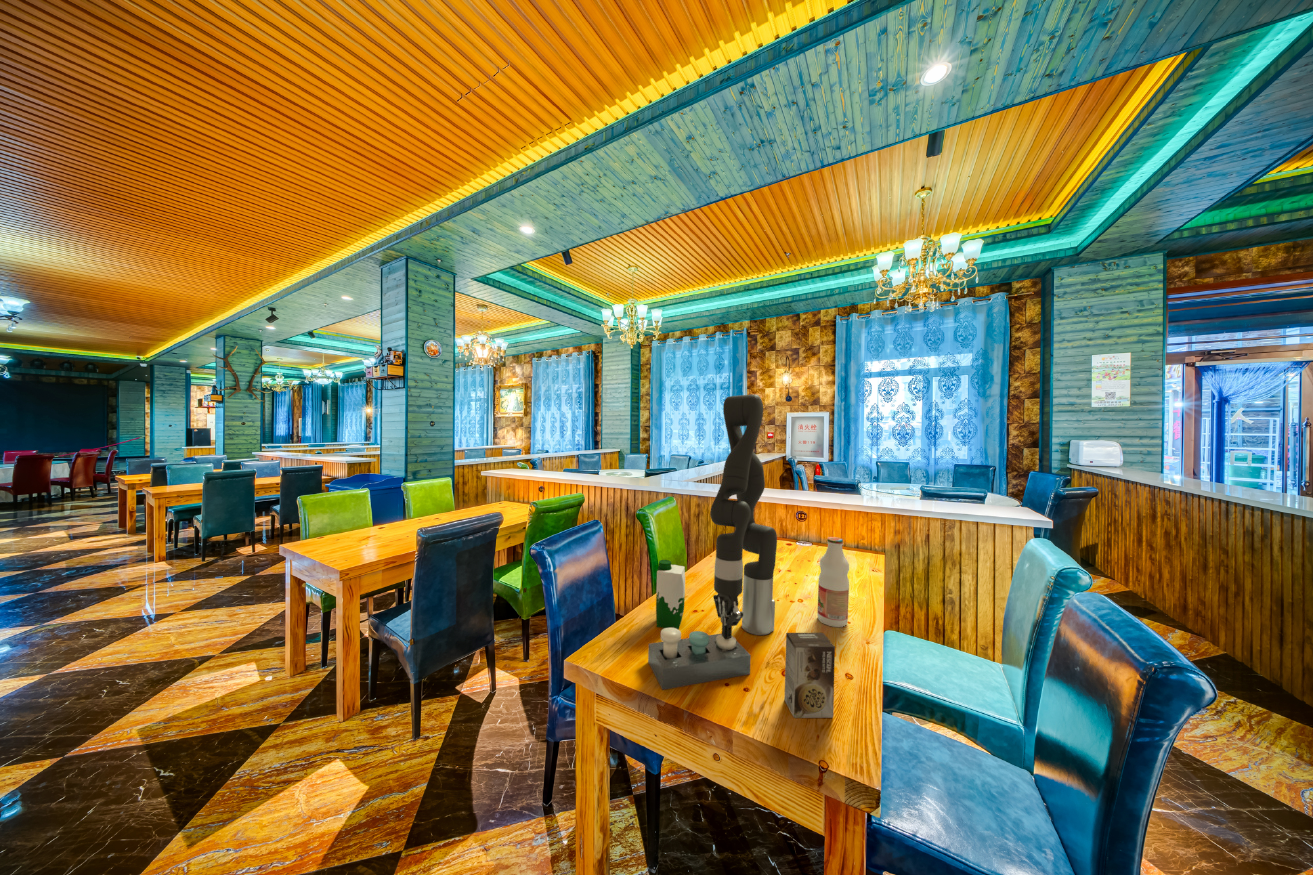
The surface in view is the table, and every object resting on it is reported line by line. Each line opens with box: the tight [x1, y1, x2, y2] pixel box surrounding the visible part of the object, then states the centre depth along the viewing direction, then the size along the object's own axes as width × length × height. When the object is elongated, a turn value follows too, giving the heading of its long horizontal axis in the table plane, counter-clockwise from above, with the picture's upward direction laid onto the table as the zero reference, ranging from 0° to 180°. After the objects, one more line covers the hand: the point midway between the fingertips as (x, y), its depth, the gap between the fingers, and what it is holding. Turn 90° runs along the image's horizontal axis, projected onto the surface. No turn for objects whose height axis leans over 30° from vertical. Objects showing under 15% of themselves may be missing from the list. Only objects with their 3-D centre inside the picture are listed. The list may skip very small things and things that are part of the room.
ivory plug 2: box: [716, 633, 737, 651], centre depth 109 cm, size 5×5×6 cm
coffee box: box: [784, 632, 836, 719], centre depth 92 cm, size 9×6×16 cm
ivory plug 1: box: [660, 628, 682, 659], centre depth 104 cm, size 5×5×6 cm
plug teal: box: [688, 630, 710, 655], centre depth 106 cm, size 5×5×6 cm
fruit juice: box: [817, 536, 850, 628], centre depth 135 cm, size 9×9×28 cm
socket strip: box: [647, 633, 752, 691], centre depth 106 cm, size 24×12×5 cm, turn 108°
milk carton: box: [655, 559, 686, 630], centre depth 130 cm, size 9×9×20 cm
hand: (726, 637), depth 108 cm, fingers closed
